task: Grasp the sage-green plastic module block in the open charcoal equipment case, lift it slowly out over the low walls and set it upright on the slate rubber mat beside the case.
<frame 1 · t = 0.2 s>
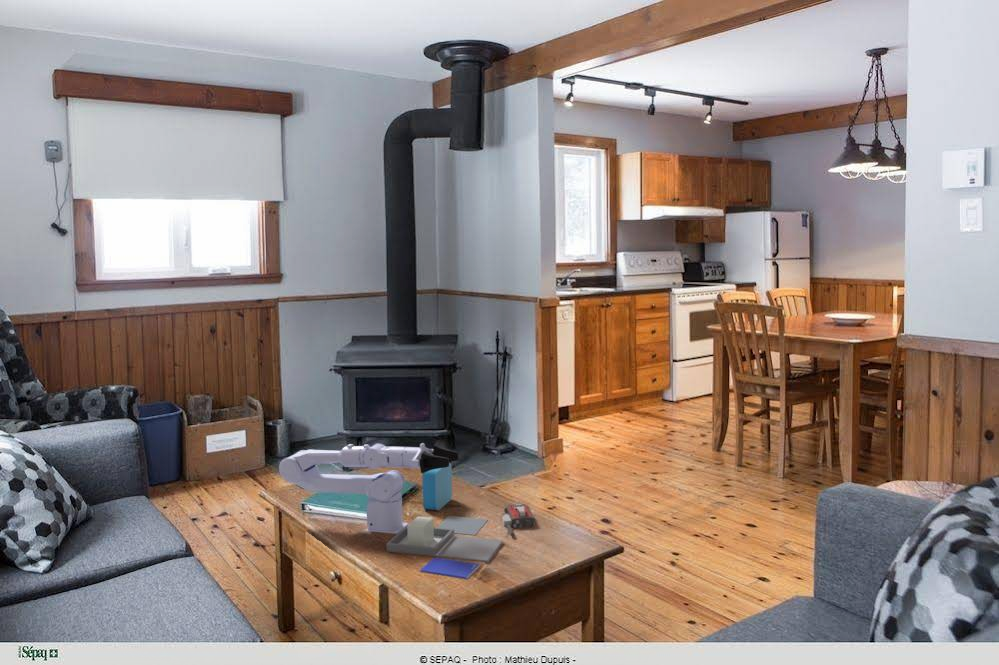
hand: (453, 459, 212), 21 cm above the table, tool horizontal, fingers open, 7 cm apart
equipment case: (421, 545, 208), on the table
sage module: (421, 543, 208), resting on equipment case
slate mat: (461, 527, 220), on the table
blue block: (438, 505, 239), on the table
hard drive: (450, 573, 192), on the table
walkie-talkie: (518, 526, 222), on the table
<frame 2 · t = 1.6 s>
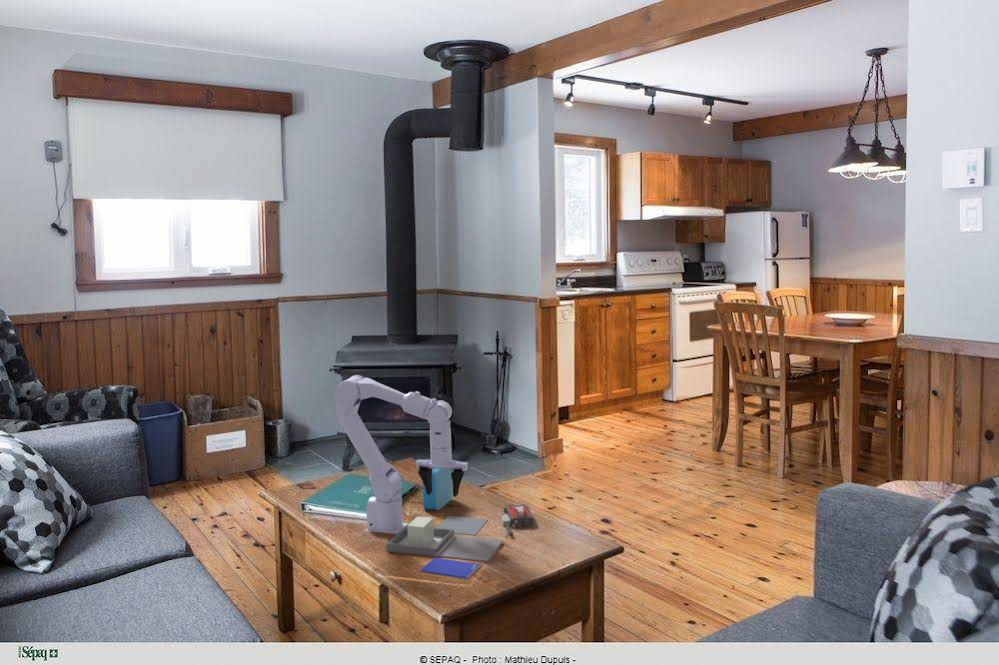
hand: (442, 494, 216), 10 cm above the table, tool pointing down, fingers open, 7 cm apart
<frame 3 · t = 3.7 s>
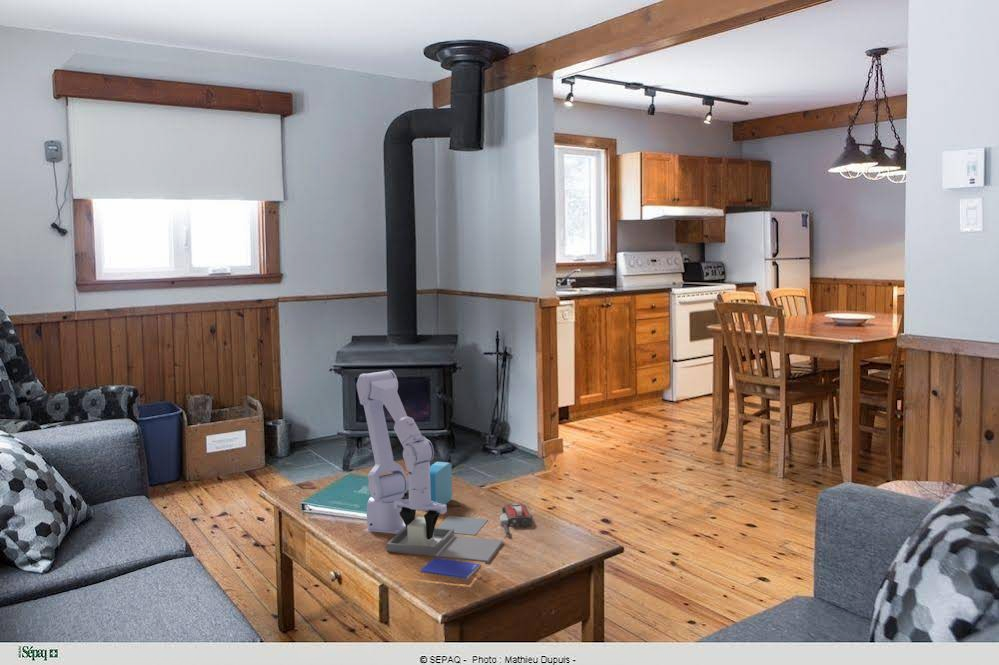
hand: (420, 536, 207), 2 cm above the table, tool pointing down, fingers closed on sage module, 5 cm apart
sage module: (421, 543, 208), point 1 cm above the table, touching equipment case, gripper
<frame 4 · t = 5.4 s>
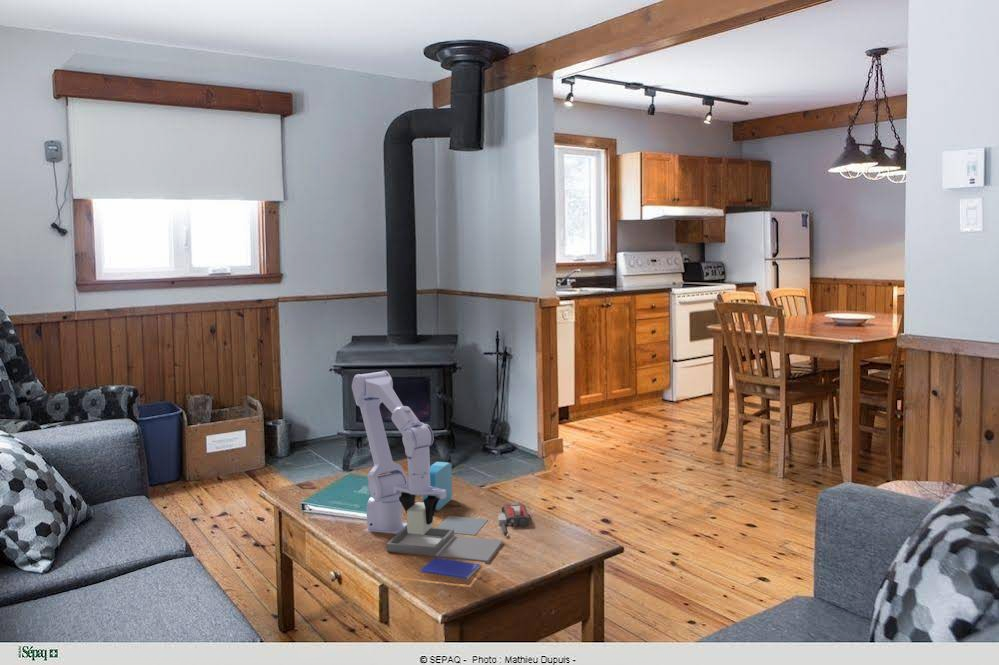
hand: (420, 522, 207), 6 cm above the table, tool pointing down, fingers closed on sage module, 5 cm apart
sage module: (420, 529, 207), point 4 cm above the table, touching gripper
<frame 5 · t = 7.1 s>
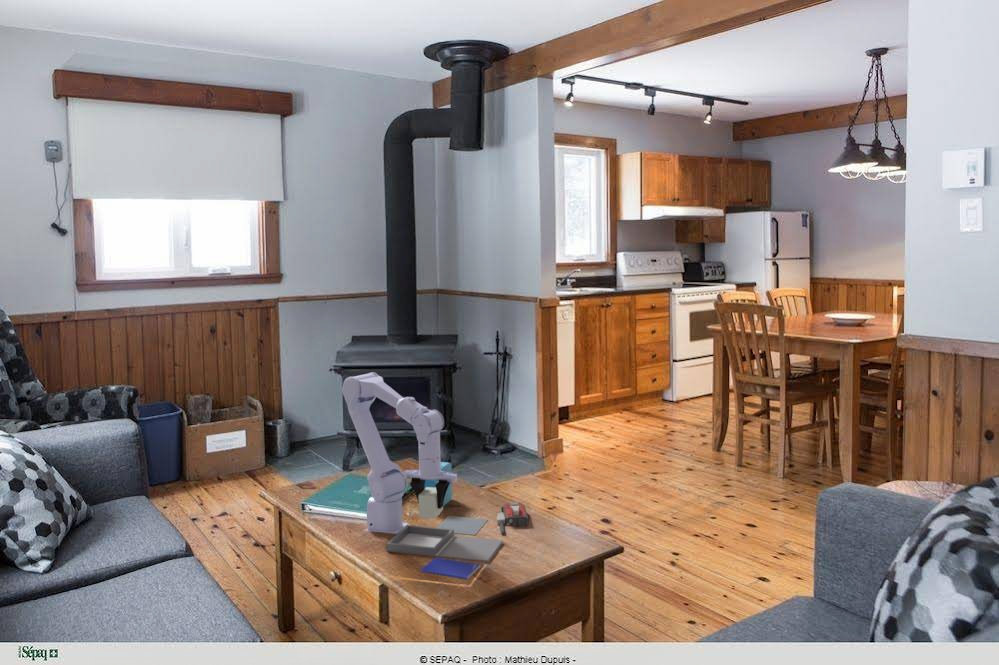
hand: (431, 506, 210), 9 cm above the table, tool pointing down, fingers closed on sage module, 5 cm apart
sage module: (431, 513, 210), point 7 cm above the table, touching gripper
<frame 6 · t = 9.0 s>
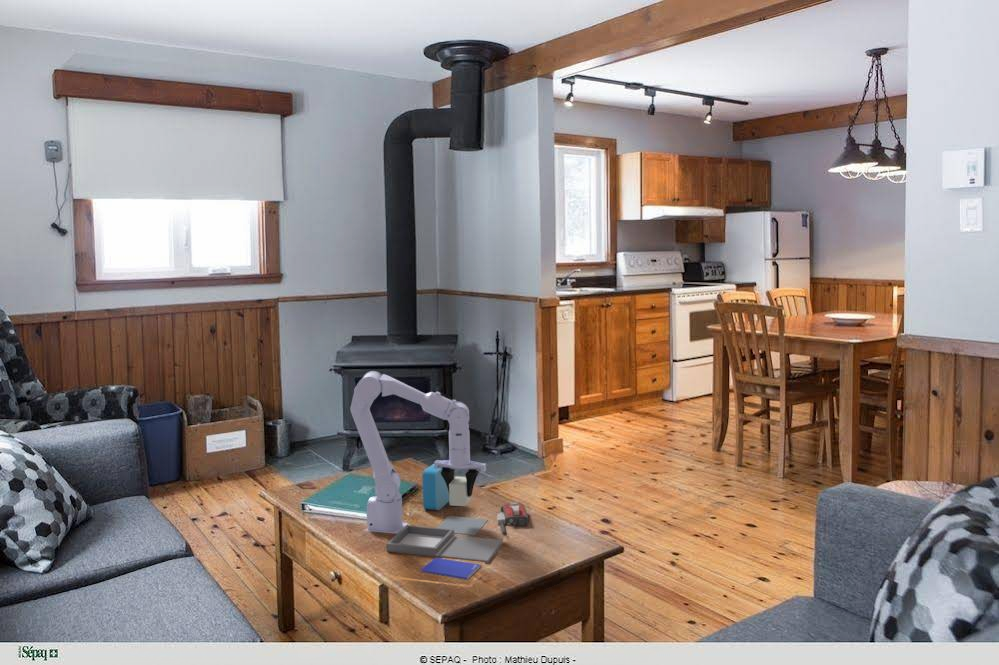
hand: (460, 494, 219), 9 cm above the table, tool pointing down, fingers closed on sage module, 5 cm apart
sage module: (460, 501, 219), point 7 cm above the table, touching gripper
when the fingers open (4 cm above the table, at t = 10.7 s): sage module drops 1 cm, resting on slate mat.
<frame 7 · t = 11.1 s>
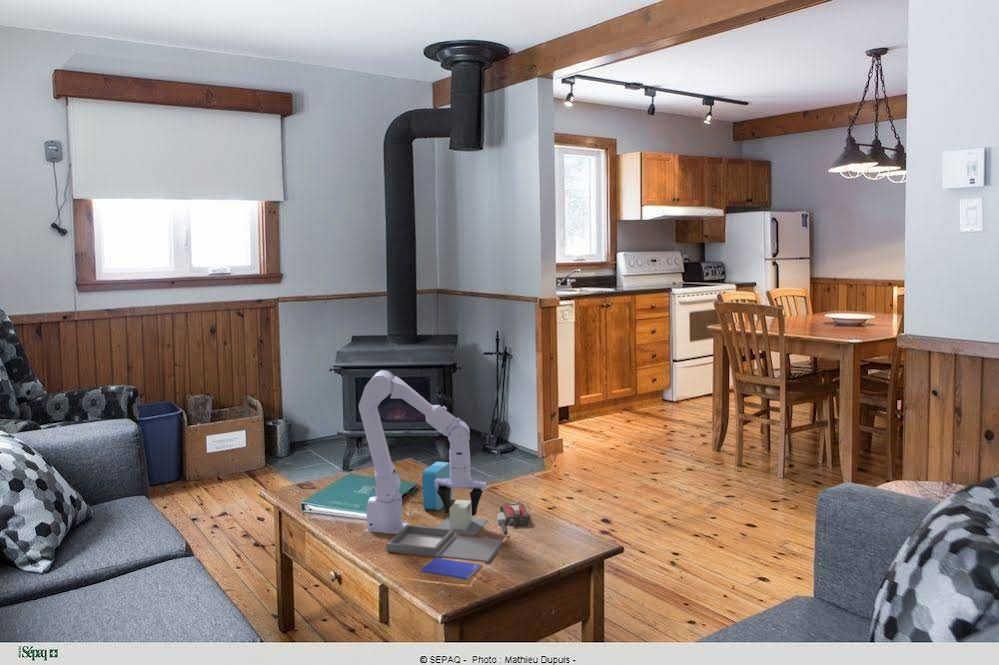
hand: (461, 513, 220), 4 cm above the table, tool pointing down, fingers open, 7 cm apart
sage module: (461, 525, 220), point 1 cm above the table, touching slate mat
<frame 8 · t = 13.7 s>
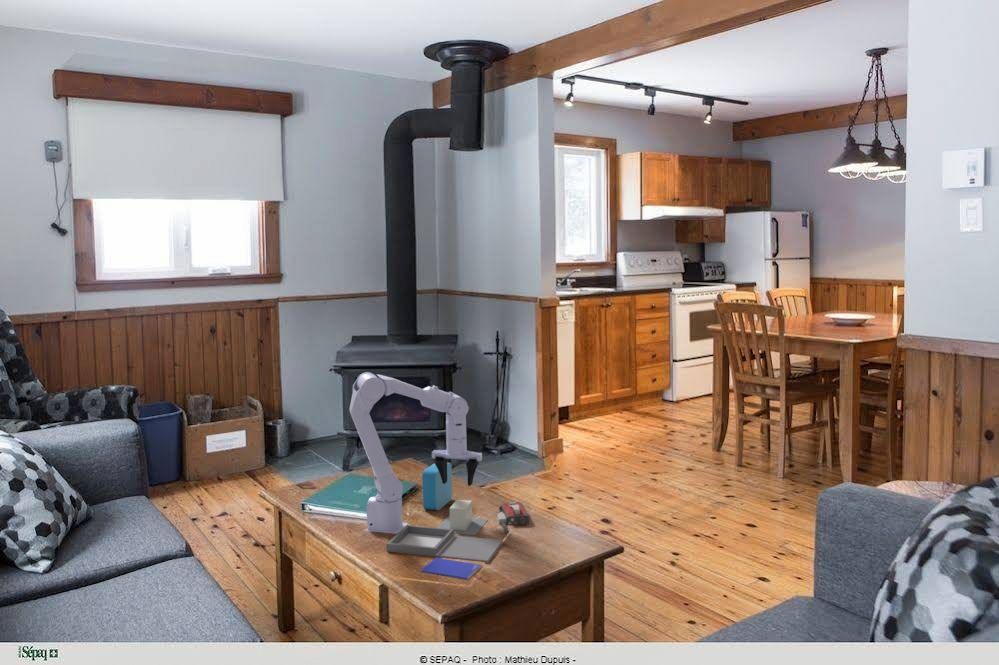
hand: (457, 483, 226), 10 cm above the table, tool pointing down, fingers open, 7 cm apart
at the end: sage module inside the target area on the slate mat (0.0 cm from its centre), point 0.6 cm above the slate mat's base; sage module tilted 0°; the gripper is holding nothing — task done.
